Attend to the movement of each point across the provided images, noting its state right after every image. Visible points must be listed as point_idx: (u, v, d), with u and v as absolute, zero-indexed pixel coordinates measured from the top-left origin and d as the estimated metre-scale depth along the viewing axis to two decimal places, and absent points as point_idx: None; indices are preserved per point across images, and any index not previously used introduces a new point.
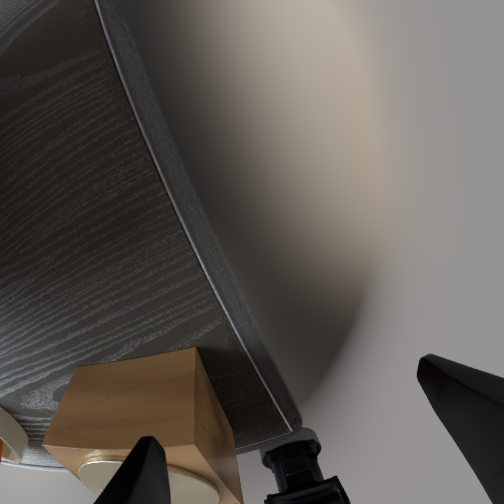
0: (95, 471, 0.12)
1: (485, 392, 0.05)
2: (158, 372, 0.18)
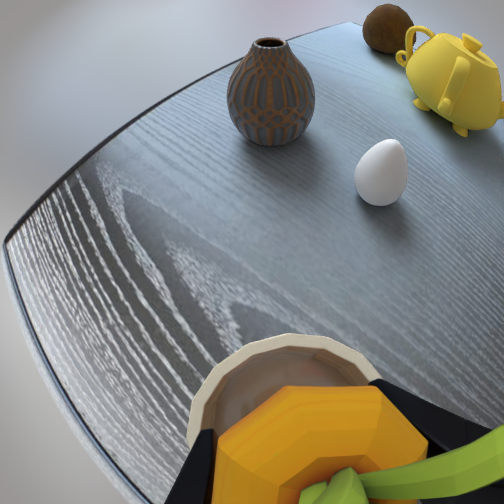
0: None
1: (431, 430, 0.05)
2: None
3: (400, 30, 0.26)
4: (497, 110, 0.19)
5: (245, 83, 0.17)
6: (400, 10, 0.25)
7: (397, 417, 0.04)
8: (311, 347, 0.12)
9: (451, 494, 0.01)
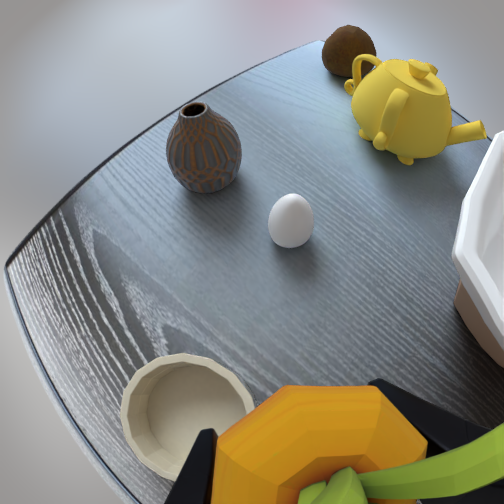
0: None
1: (430, 430, 0.05)
2: None
3: (356, 54, 0.31)
4: (443, 138, 0.24)
5: (174, 148, 0.22)
6: (359, 32, 0.30)
7: (397, 417, 0.04)
8: (197, 364, 0.17)
9: (450, 494, 0.01)
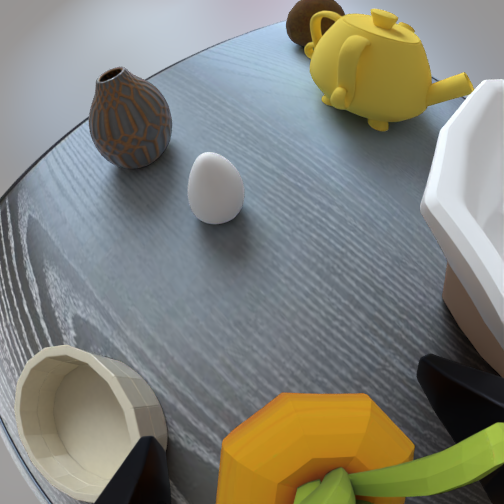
0: None
1: (485, 392, 0.05)
2: None
3: (321, 20, 0.26)
4: (420, 94, 0.19)
5: (92, 118, 0.17)
6: None
7: (385, 423, 0.05)
8: (79, 359, 0.12)
9: (424, 494, 0.02)
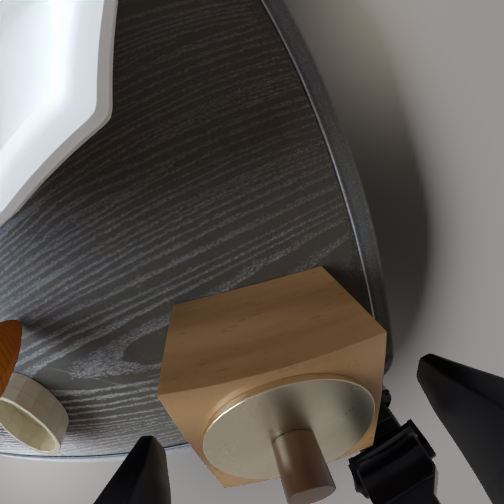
0: (244, 416, 0.12)
1: (485, 392, 0.05)
2: (294, 289, 0.18)
3: None
4: None
5: None
6: None
7: None
8: None
9: None
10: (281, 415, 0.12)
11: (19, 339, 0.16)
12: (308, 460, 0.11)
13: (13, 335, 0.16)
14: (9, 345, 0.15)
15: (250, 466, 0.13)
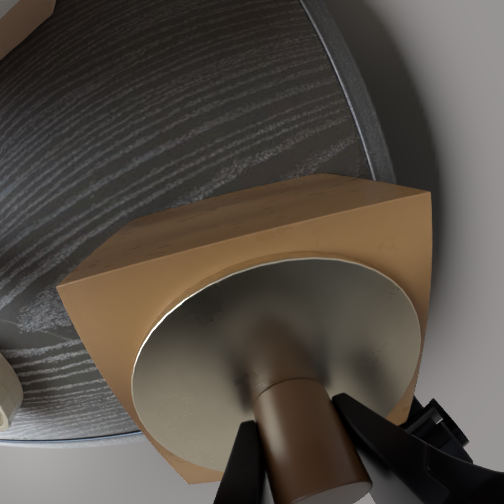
0: (194, 335, 0.07)
1: (389, 453, 0.05)
2: (287, 185, 0.13)
3: None
4: None
5: None
6: None
7: None
8: None
9: None
10: (265, 340, 0.07)
11: None
12: (319, 431, 0.06)
13: None
14: None
15: (219, 450, 0.09)
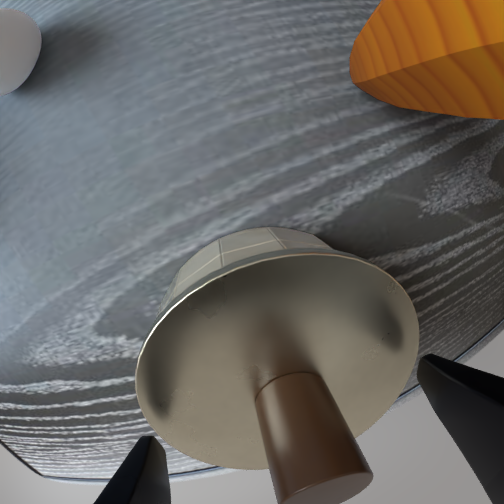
0: (198, 329, 0.07)
1: (485, 392, 0.05)
2: None
3: None
4: None
5: None
6: None
7: None
8: None
9: None
10: (267, 334, 0.07)
11: None
12: (320, 423, 0.06)
13: None
14: None
15: (221, 445, 0.09)
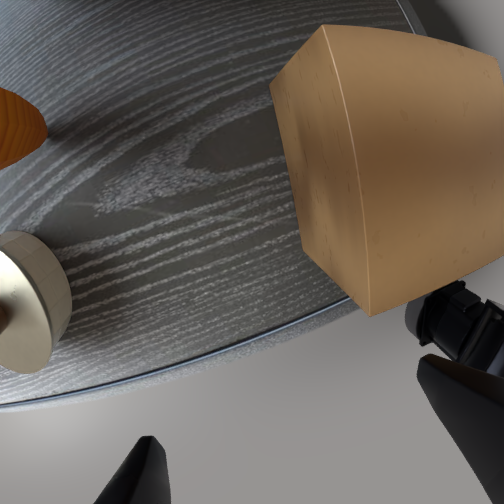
0: None
1: (485, 392, 0.05)
2: None
3: None
4: None
5: None
6: None
7: None
8: None
9: None
10: None
11: (43, 130, 0.12)
12: None
13: (39, 116, 0.11)
14: (32, 115, 0.10)
15: None
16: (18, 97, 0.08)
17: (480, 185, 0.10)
